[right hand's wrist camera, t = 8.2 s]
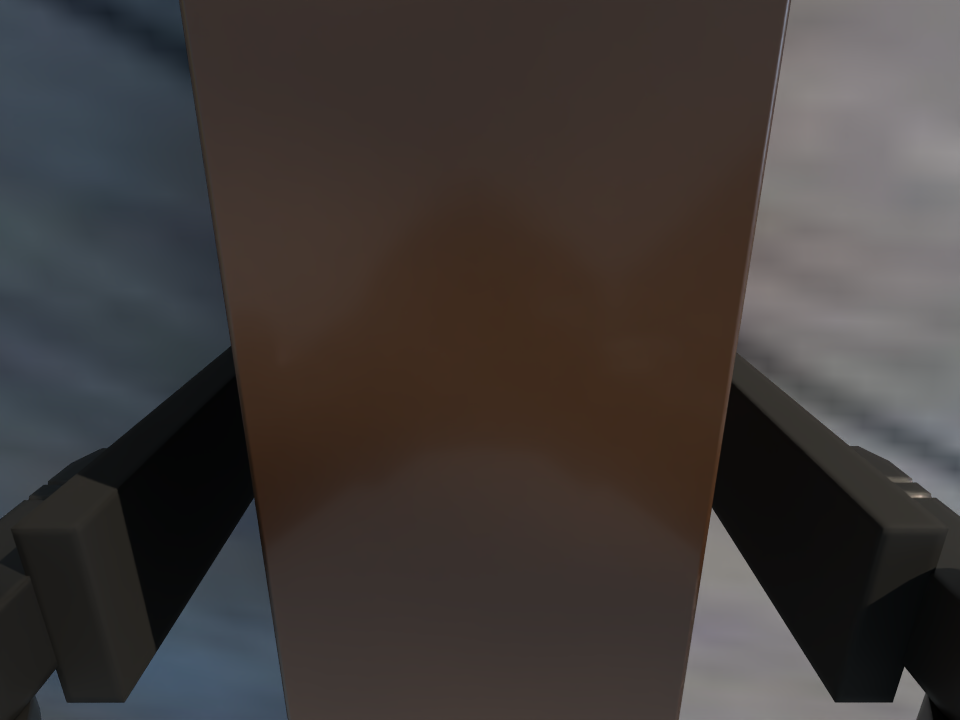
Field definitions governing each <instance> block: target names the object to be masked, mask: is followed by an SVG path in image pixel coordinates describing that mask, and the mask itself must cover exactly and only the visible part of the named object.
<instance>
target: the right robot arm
mask: <svg viewBox="0 0 960 720" xmlns="http://www.w3.org/2000/svg"><path fill="white" fill-rule="evenodd" d="M253 498H254V492H253V486H252V479H251V472H250V466H249V459H248V453H247V446H246V439H245V433H244V426H243V419H242V413H241V406H240V400H239V393H238V386H237V380H236V373H235V367H234V360H233V353H232V347H229V348H228V349H227V350H226V351H225V352H223V353H222V354H221V355H220V356H219V357H217V358H216V359H215V360H214V361H212V362H211V363H210V364H209V365H208V366H206V367H205V368H204V369H203V370H202V371H200V372H199V373H198V374H197V375H196V376H194V377H193V378H192V379H191V380H189V381H188V382H187V383H186V384H185V385H183V386H182V387H181V388H180V389H179V390H177V391H176V392H175V393H174V394H173V395H171V396H170V397H169V398H168V399H167V400H165V401H164V402H163V403H162V404H160V405H159V406H158V407H157V408H156V409H154V410H153V411H152V412H151V413H150V414H148V415H147V416H146V417H145V418H144V419H142V420H141V421H140V422H139V423H138V424H136V425H135V426H134V427H133V428H131V429H130V430H129V431H128V432H127V433H125V434H124V435H123V436H122V437H121V438H119V439H118V440H117V441H116V442H115V443H113V444H112V445H111V446H110V447H109V448H102V449H100V450H98V451H95V452H93V453H91V454H89V455H87V456H85V457H83V458H81V459H79V460H77V461H75V462H73V463H71V464H70V465H68V466H67V467H66V468H64V469H63V470H62V471H61V472H59V473H58V474H57V475H56V476H54V477H53V478H52V479H51V480H49V481H48V485H43V486H42V487H40V488H39V489H38V490H37V491H35V492H34V493H33V494H32V495H30V496H29V500H24V501H23V502H21V503H20V504H19V505H18V506H16V507H15V508H14V509H13V510H11V511H10V512H9V513H8V514H6V515H5V516H4V517H2V518H1V519H0V720H41V714H40V708H39V705H38V702H37V699H36V696H35V694H36V693H37V692H38V691H39V689H40V688H41V687H42V686H43V684H44V683H45V682H46V681H47V679H48V678H49V677H50V676H51V674H52V673H53V672H54V671H55V669H56V671H57V674H58V677H59V680H60V683H61V686H62V689H63V692H64V695H65V698H66V701H67V703H124V702H125V701H126V699H127V698H128V696H129V694H130V693H131V691H132V690H133V688H134V687H135V685H136V683H137V682H138V680H139V679H140V677H141V675H142V674H143V672H144V671H145V669H146V668H147V666H148V664H149V663H150V661H151V660H152V658H153V656H154V655H155V653H156V652H157V650H158V649H159V647H160V645H161V644H162V642H163V641H164V639H165V637H166V636H167V634H168V633H169V631H170V630H171V628H172V626H173V625H174V623H175V622H176V620H177V618H178V617H179V615H180V614H181V612H182V611H183V609H184V607H185V606H186V604H187V603H188V601H189V599H190V598H191V596H192V595H193V593H194V592H195V590H196V588H197V587H198V585H199V584H200V582H201V580H202V579H203V577H204V576H205V574H206V573H207V571H208V569H209V568H210V566H211V565H212V563H213V562H214V560H215V558H216V557H217V555H218V554H219V552H220V550H221V549H222V547H223V546H224V544H225V543H226V541H227V539H228V538H229V536H230V535H231V533H232V531H233V530H234V528H235V527H236V525H237V524H238V522H239V520H240V519H241V517H242V516H243V514H244V512H245V511H246V509H247V508H248V506H249V505H250V503H251V501H252V500H253ZM712 508H713V510H714V511H715V513H716V515H717V516H718V518H719V519H720V521H721V522H722V524H723V526H724V527H725V529H726V530H727V532H728V534H729V535H730V537H731V538H732V540H733V541H734V543H735V545H736V546H737V548H738V549H739V551H740V553H741V554H742V556H743V557H744V559H745V560H746V562H747V564H748V565H749V567H750V568H751V570H752V572H753V573H754V575H755V576H756V578H757V579H758V581H759V583H760V584H761V586H762V587H763V589H764V591H765V592H766V594H767V595H768V597H769V598H770V600H771V602H772V603H773V605H774V606H775V608H776V610H777V611H778V613H779V614H780V616H781V617H782V619H783V621H784V622H785V624H786V625H787V627H788V629H789V630H790V632H791V633H792V635H793V636H794V638H795V640H796V641H797V643H798V644H799V646H800V648H801V649H802V651H803V652H804V654H805V655H806V657H807V659H808V660H809V662H810V663H811V665H812V667H813V668H814V670H815V671H816V673H817V674H818V676H819V678H820V679H821V681H822V682H823V684H824V686H825V687H826V689H827V690H828V692H829V693H830V695H831V697H832V698H833V700H834V701H835V702H893V700H894V697H895V694H896V691H897V687H898V684H899V681H900V678H901V675H902V672H903V669H904V666H905V668H906V669H907V670H908V671H909V673H910V674H911V675H912V676H913V678H914V679H915V680H916V681H917V683H918V684H919V685H920V686H921V688H922V689H923V690H924V691H925V696H924V699H923V702H922V705H921V708H920V711H919V714H918V717H917V719H916V720H960V516H959V515H957V514H956V513H955V512H953V511H952V510H951V509H950V508H948V507H947V506H946V505H945V504H943V503H942V502H941V501H939V500H938V499H937V498H932V497H931V494H930V493H929V492H928V491H927V490H925V489H924V488H923V487H922V486H920V485H919V484H918V483H913V482H912V479H911V478H910V477H909V476H908V475H906V474H905V473H904V472H902V471H901V470H900V469H899V468H897V467H896V466H895V465H894V464H892V463H891V462H890V461H888V460H886V459H884V458H882V457H880V456H877V455H875V454H873V453H871V452H869V451H867V450H865V449H863V448H861V447H859V446H849V445H847V444H846V443H845V442H844V441H843V440H841V439H840V438H839V437H838V436H837V435H835V434H834V433H833V432H832V431H831V430H829V429H828V428H827V427H826V426H825V425H823V424H822V423H821V422H820V421H819V420H817V419H816V418H815V417H814V416H812V415H811V414H810V413H809V412H808V411H806V410H805V409H804V408H803V407H802V406H800V405H799V404H798V403H797V402H796V401H794V400H793V399H792V398H791V397H790V396H788V395H787V394H786V393H785V392H783V391H782V390H781V389H780V388H779V387H777V386H776V385H775V384H774V383H773V382H771V381H770V380H769V379H768V378H767V377H765V376H764V375H763V374H762V373H761V372H759V371H758V370H757V369H756V368H754V367H753V366H752V365H751V364H750V363H748V362H747V361H746V360H745V359H744V358H742V357H741V356H740V355H739V354H738V353H736V355H735V362H734V368H733V375H732V381H731V387H730V394H729V400H728V407H727V413H726V419H725V426H724V432H723V439H722V445H721V451H720V458H719V464H718V471H717V477H716V483H715V490H714V496H713V503H712Z"/></svg>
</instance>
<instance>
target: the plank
mask: <svg viewBox="0 0 960 720" xmlns="http://www.w3.org/2000/svg"><path fill="white" fill-rule="evenodd" d="M179 3H180V9H181V16H182V23H183V29H184V36H185V42H186V49H187V56H188V62H189V69H190V76H191V82H192V89H193V95H194V102H195V109H196V115H197V122H198V128H199V135H200V142H201V148H202V155H203V162H204V168H205V175H206V181H207V188H208V195H209V201H210V208H211V214H212V221H213V228H214V234H215V241H216V248H217V254H218V261H219V267H220V274H221V281H222V287H223V294H224V300H225V307H226V314H227V320H228V327H229V333H230V340H231V347H232V353H233V360H234V367H235V373H236V380H237V386H238V393H239V400H240V406H241V413H242V419H243V426H244V433H245V439H246V446H247V453H248V459H249V466H250V472H251V479H252V486H253V492H254V499H255V505H256V512H257V519H258V525H259V532H260V539H261V545H262V552H263V558H264V565H265V572H266V578H267V585H268V591H269V598H270V605H271V611H272V618H273V624H274V631H275V638H276V644H277V651H278V658H279V664H280V671H281V677H282V684H283V691H284V697H285V704H286V710H287V717H288V720H679V714H680V707H681V701H682V695H683V688H684V682H685V675H686V669H687V663H688V656H689V650H690V643H691V637H692V631H693V624H694V618H695V611H696V605H697V599H698V592H699V586H700V579H701V573H702V567H703V560H704V554H705V547H706V541H707V535H708V528H709V522H710V515H711V509H712V503H713V496H714V490H715V483H716V477H717V471H718V464H719V458H720V451H721V445H722V439H723V432H724V426H725V419H726V413H727V407H728V400H729V394H730V387H731V381H732V375H733V368H734V362H735V355H736V349H737V343H738V336H739V330H740V323H741V317H742V311H743V304H744V298H745V291H746V285H747V279H748V272H749V266H750V259H751V253H752V247H753V240H754V234H755V227H756V221H757V215H758V208H759V202H760V195H761V189H762V183H763V176H764V170H765V163H766V157H767V151H768V144H769V138H770V131H771V125H772V119H773V112H774V106H775V99H776V93H777V87H778V80H779V74H780V67H781V61H782V55H783V48H784V42H785V35H786V29H787V23H788V16H789V10H790V3H791V0H179Z"/></svg>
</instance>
